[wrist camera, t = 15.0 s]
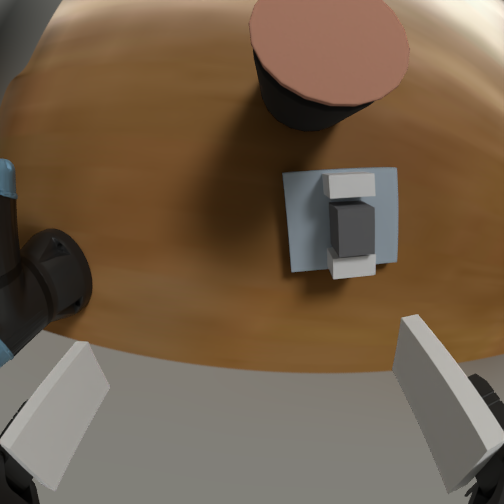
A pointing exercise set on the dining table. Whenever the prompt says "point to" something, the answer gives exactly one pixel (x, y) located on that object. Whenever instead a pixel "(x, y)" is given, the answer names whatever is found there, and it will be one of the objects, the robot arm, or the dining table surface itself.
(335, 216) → the dark gray block
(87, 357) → the robot arm
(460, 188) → the dining table surface
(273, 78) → the coffee jar
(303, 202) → the board
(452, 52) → the dining table surface
